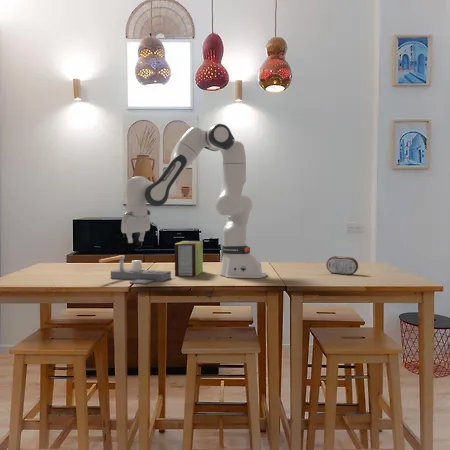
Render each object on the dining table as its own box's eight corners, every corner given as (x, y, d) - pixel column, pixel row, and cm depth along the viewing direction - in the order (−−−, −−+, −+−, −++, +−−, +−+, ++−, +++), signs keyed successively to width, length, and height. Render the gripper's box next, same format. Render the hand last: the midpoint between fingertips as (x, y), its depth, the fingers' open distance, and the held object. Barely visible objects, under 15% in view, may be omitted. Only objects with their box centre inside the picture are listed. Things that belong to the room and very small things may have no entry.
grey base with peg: (170, 278, 200) (170, 259, 199) (161, 281, 191) (161, 262, 191) (121, 275, 208) (121, 257, 207) (110, 278, 199) (110, 259, 199)
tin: (358, 274, 210) (358, 257, 210) (357, 275, 207) (357, 258, 207) (327, 272, 216) (327, 255, 216) (325, 273, 213) (325, 256, 213)
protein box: (203, 271, 219) (202, 241, 218) (195, 276, 204) (195, 243, 203) (182, 271, 221) (182, 240, 220) (174, 276, 206) (174, 243, 205)
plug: (143, 277, 201) (143, 260, 201) (138, 279, 197) (138, 261, 197) (135, 277, 203) (134, 260, 202) (130, 278, 199) (130, 261, 198)
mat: (155, 281, 191) (155, 280, 191) (146, 284, 184) (146, 283, 184) (139, 280, 194) (139, 278, 194) (129, 283, 186) (129, 282, 186)
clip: (103, 262, 187) (103, 260, 187) (97, 262, 188) (97, 259, 188) (126, 258, 203) (126, 255, 203) (120, 257, 204) (120, 255, 204)
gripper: (130, 212, 188) (130, 244, 188) (152, 211, 207) (152, 240, 208) (117, 212, 190) (117, 243, 190) (141, 211, 209) (140, 239, 210)
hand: (136, 242), depth 199 cm, fingers open, 8 cm apart
